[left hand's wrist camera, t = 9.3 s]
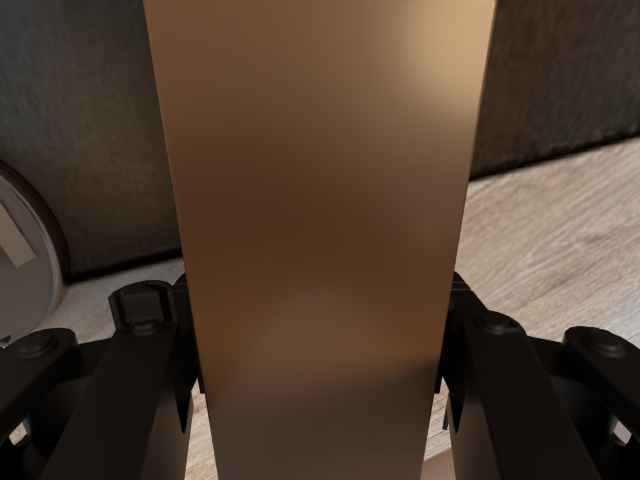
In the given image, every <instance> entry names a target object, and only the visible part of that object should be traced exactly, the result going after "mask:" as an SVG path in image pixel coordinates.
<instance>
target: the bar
mask: <svg viewBox="0 0 640 480" xmlns="http://www.w3.org/2000/svg"><path fill="white" fill-rule="evenodd" d="M142 1H143V7H144V14H145V20H146V26H147V32H148V39H149V45H150V51H151V58H152V64H153V70H154V77H155V83H156V89H157V95H158V102H159V108H160V114H161V121H162V127H163V133H164V140H165V146H166V152H167V158H168V165H169V171H170V177H171V184H172V190H173V196H174V203H175V209H176V215H177V221H178V228H179V234H180V240H181V247H182V253H183V259H184V266H185V272H186V278H187V285H188V291H189V297H190V303H191V310H192V316H193V322H194V329H195V335H196V341H197V348H198V354H199V360H200V366H201V373H202V379H203V385H204V392H205V398H206V404H207V411H208V417H209V423H210V429H211V436H212V442H213V448H214V455H215V461H216V467H217V474H218V480H420V478H421V472H422V466H423V460H424V454H425V447H426V441H427V435H428V429H429V423H430V417H431V410H432V404H433V398H434V392H435V386H436V379H437V373H438V367H439V361H440V355H441V349H442V342H443V336H444V330H445V324H446V318H447V311H448V305H449V299H450V293H451V287H452V281H453V274H454V268H455V262H456V256H457V250H458V243H459V237H460V231H461V225H462V219H463V213H464V206H465V200H466V194H467V188H468V182H469V175H470V169H471V163H472V157H473V151H474V145H475V138H476V132H477V126H478V120H479V114H480V107H481V101H482V95H483V89H484V83H485V77H486V70H487V64H488V58H489V52H490V46H491V39H492V33H493V27H494V21H495V15H496V9H497V2H498V0H142Z"/></svg>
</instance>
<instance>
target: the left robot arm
mask: <svg viewBox="0 0 640 480" xmlns="http://www.w3.org/2000/svg"><path fill="white" fill-rule="evenodd" d="M68 281H69V258H68V252H67V248H66V244H65V241H64V238H63V235H62V233H61V230H60V228H59V226H58V224H57V222H56V220H55V218H54V217H53V215H52V213H51V212H50V210H49V209H48V207H47V206H46V204H45V203H44V202H43V200H42V199H41V198H40V196H39V195H38V194H37V193H36V192H35V190H34V189H33V188H32V187H31V186H30V185H29V184H28V183H27V182H26V181H25V180H24V179H23V178H22V177H21V176H19V175H18V174H17V173H16V172H15V171H14V170H12V169H11V168H10V167H9V166H7V165H6V164H5V163H3V162H2V161H0V480H184V478H185V470H186V462H187V454H188V447H189V439H190V431H191V423H192V415H193V408H194V406H193V399H192V393H191V390H192V388H193V386H194V384H195V382H196V379H197V377H198V383H199V389H200V394H205V392H204V385H203V379H202V373H201V366H200V360H199V354H198V348H197V341H196V335H195V329H194V322H193V316H192V310H191V303H190V297H189V291H188V285H187V278H186V272H185V273H184V274H182V275H181V276H180V277H179V279H178V280H177V281H176V282H175V285H173V286H172V285H171V284H169V283H168V282H165V281H160V280H146V281H141V282H135V283H132V284H129V285H126V286H124V287H122V288H120V289H118V290H116V291H114V292H113V293H112V294H111V295H110V296H109V297H108V301H109V304H110V308H111V312H112V316H113V320H114V324H115V327H116V331H115V333H114V335H113V336H112V337H111V338H107V339H103V340H97V341H92V342H87V343H82V344H78V341H77V338H76V335H75V333H74V332H73V331H72V330H70V329H66V328H52V329H43V330H41V331H36V332H33V333H30V334H29V335H27V336H25V335H26V334H28V333H29V332H31V331H32V330H33V329H35V328H36V327H37V326H38V325H40V324H41V323H42V322H43V321H45V320H46V319H47V318H48V317H49V316H51V315H52V314H53V313H54V311H55V310H56V309H57V308H58V306H59V305H60V303H61V302H62V300H63V298H64V295H65V293H66V290H67V286H68ZM23 336H25V337H23ZM21 337H22V338H21ZM19 338H20V339H19ZM17 339H18V340H17ZM15 340H16V341H15ZM13 341H15V342H13ZM11 342H13V343H12V344H10V345H8V346H7V347H5V348H4V349H3V348H2V346H5V345H7V344H9V343H11ZM442 376H443V378H444V380H445V382H446V385H447V387H448V389H449V393H448V399H447V404H446V410H445V416H444V421H443V428H442V429H444V430H447V428H448V423H449V430H450V438H451V446H452V454H453V461H454V469H455V477H456V480H640V349H639V348H637V347H636V346H635V345H633V344H632V343H630V342H628V341H627V340H625V339H624V338H622V337H620V336H617V335H615V334H613V333H611V332H609V331H607V330H604V329H599V328H595V327H585V326H577V327H570V328H569V329H568V330H566V331H565V334H564V337H563V340H562V343H561V342H556V341H551V340H546V339H540V338H535V337H531V336H527V334H526V332H525V330H524V329H523V327H522V326H521V325H520V324H519V323H518V322H517V321H515V320H514V319H512V318H511V317H509V316H507V315H504V314H502V313H499V312H495V311H491V310H488V309H487V308H486V307H485V305H484V304H483V303H482V302H481V301H480V299H479V298H478V297H477V296H476V295H475V293H474V292H473V291H471V288H470V287H469V286H468V285H467V284H465V281H464V280H463V279H462V277H461V276H460V275H459V274H458V273H457V272H455V271H454V274H453V281H452V287H451V293H450V299H449V305H448V311H447V318H446V324H445V330H444V336H443V342H442V349H441V355H440V361H439V367H438V373H437V379H436V386H435V392H434V394H439V393H440V387H441V381H442ZM618 420H619V421H620V422H621V423H622V424H623V425H624V426H625V427H626V428H627V429H628V430H629V431H630V433H631V434H632V435H631V437H630V439H629V442H628V443H627V444H625V443H624V442H623V441H622V440H620V439H619V438H618V436H617V435H616V434H615V433H614V432H613V431H614V429H615V427H616V424H617V422H618ZM21 422H22V423H23V425H24V428H25V430H26V432H27V434H26V435H25V436H24V437H23V438H22V439H21V440H20V441H19V442H18V443H17V444H15V445H13V444H12V442H11V440H10V438H9V435H10V434H11V433H12V432H13V431H14V430H15V429H16V428H17V427H18V426H19V425H20V424H21Z"/></svg>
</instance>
